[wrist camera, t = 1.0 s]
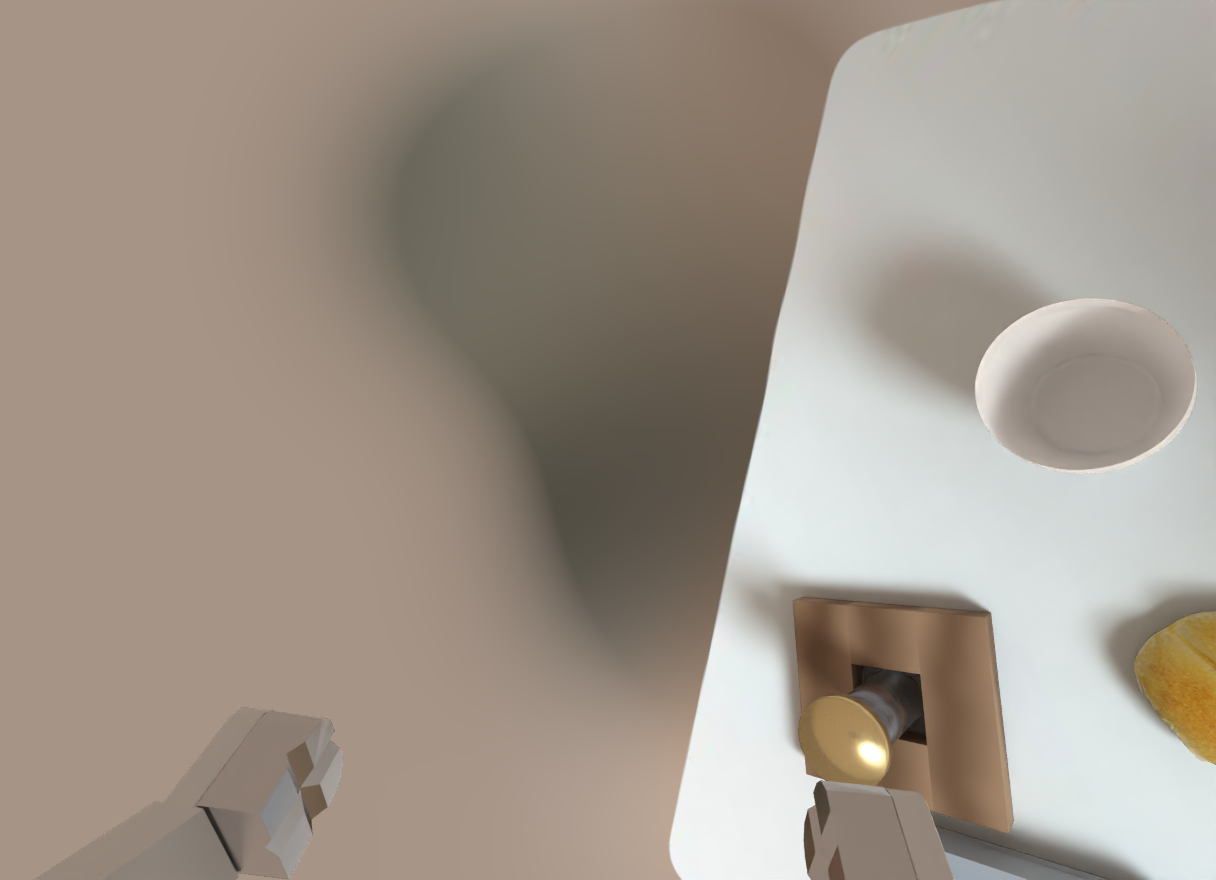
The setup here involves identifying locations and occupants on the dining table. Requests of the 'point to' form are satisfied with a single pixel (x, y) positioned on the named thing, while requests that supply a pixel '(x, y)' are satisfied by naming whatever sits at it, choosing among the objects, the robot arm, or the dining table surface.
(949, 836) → the tray
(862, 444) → the dining table surface
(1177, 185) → the dining table surface
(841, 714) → the pin
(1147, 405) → the cup
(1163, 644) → the bread roll
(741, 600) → the dining table surface
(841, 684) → the socket block
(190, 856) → the robot arm
